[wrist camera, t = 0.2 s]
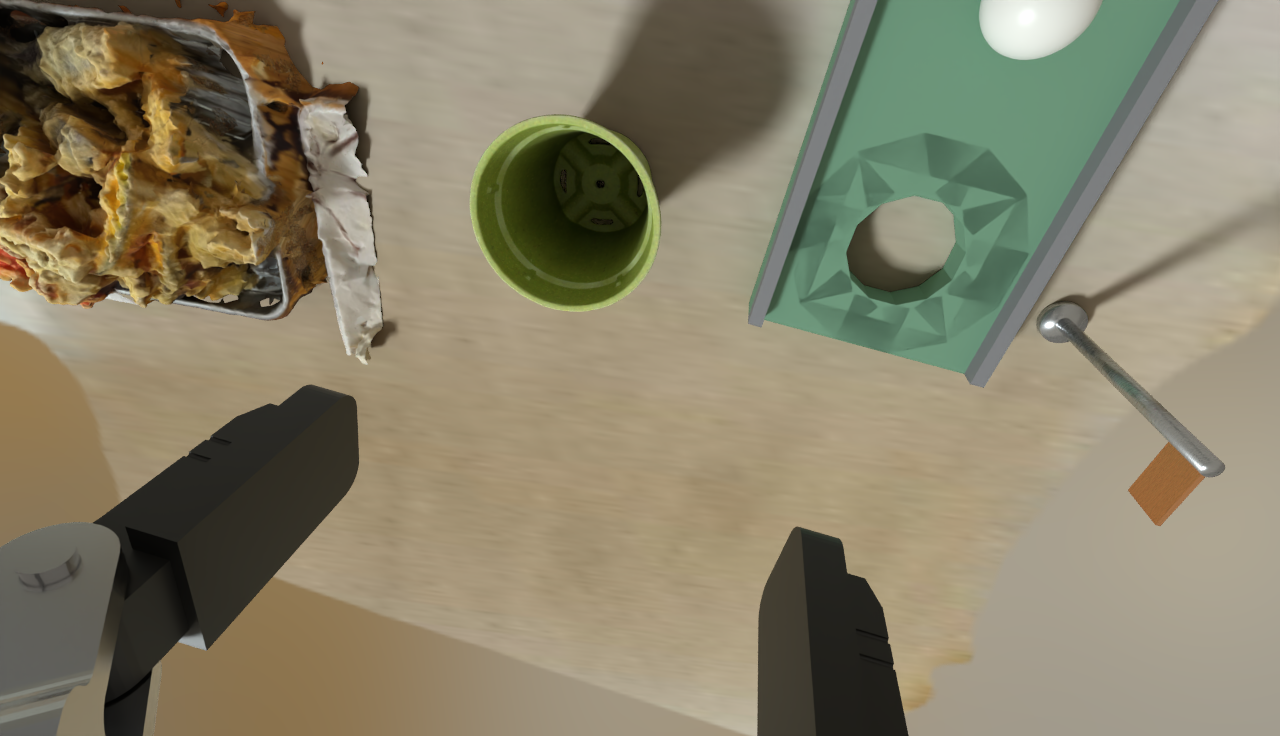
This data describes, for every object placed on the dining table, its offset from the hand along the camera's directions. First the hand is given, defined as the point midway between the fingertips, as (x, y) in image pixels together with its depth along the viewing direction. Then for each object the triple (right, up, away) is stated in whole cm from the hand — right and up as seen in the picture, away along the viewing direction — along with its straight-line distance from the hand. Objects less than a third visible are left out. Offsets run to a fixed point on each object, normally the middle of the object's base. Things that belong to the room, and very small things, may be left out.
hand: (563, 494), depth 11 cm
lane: (+17, +15, +21) cm, 31 cm away
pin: (+26, +5, +25) cm, 36 cm away
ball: (+18, +18, +14) cm, 29 cm away
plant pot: (-1, +13, +26) cm, 29 cm away
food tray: (-33, +18, +31) cm, 48 cm away
